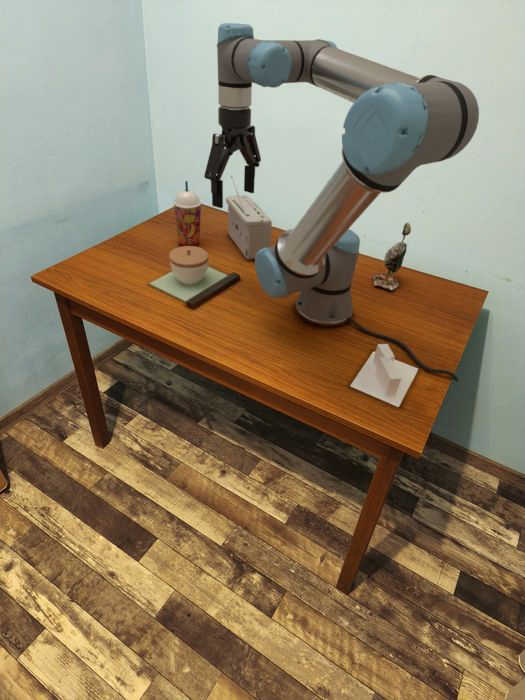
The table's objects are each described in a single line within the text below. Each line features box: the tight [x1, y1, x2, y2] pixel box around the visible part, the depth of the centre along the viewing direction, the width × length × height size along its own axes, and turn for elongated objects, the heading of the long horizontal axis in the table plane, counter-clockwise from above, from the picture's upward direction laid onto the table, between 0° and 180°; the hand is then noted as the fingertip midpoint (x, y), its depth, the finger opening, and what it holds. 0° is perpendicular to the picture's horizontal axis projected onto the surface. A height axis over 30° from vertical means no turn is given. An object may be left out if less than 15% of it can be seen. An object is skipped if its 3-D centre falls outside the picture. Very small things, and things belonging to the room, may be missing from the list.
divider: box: [185, 271, 241, 310], centre depth 126 cm, size 2×20×2 cm, turn 144°
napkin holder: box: [349, 343, 419, 408], centre depth 102 cm, size 15×11×6 cm
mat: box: [149, 266, 229, 304], centre depth 130 cm, size 14×18×1 cm
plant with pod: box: [373, 222, 412, 291], centre depth 131 cm, size 8×11×20 cm
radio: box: [225, 175, 273, 261], centre depth 143 cm, size 21×8×20 cm, turn 22°
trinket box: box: [168, 246, 209, 285], centre depth 127 cm, size 11×11×9 cm
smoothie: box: [172, 180, 202, 247], centre depth 142 cm, size 8×8×20 cm
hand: (233, 199), depth 117 cm, fingers open, 13 cm apart
